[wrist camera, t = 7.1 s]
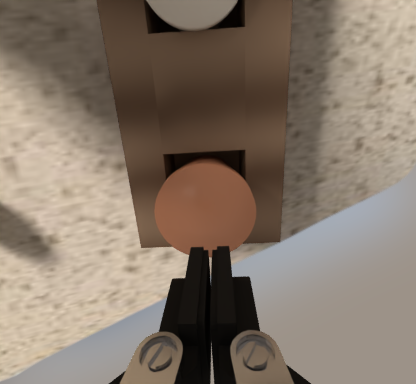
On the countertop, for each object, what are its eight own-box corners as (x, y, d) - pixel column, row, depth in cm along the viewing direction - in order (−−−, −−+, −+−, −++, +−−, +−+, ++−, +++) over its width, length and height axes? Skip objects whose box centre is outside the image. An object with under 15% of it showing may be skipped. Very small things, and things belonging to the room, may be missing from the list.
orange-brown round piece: (165, 148, 20) (147, 168, 15) (244, 144, 20) (257, 162, 14) (173, 219, 22) (161, 259, 17) (244, 215, 22) (255, 255, 17)
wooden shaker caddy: (118, -61, 20) (71, -141, 13) (270, -74, 19) (301, -163, 13) (157, 213, 28) (141, 247, 22) (264, 207, 28) (280, 242, 21)
